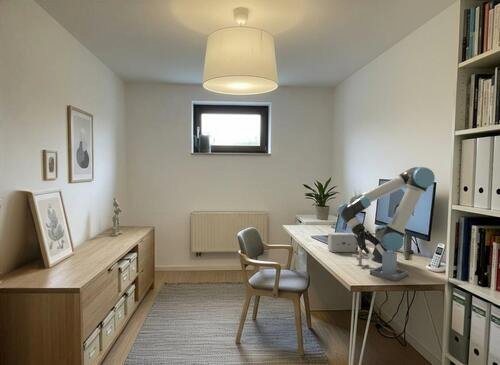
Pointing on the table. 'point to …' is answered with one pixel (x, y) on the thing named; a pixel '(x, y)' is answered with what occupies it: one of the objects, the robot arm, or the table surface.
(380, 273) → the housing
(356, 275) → the table surface
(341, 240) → the stereo radio cassette player
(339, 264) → the table surface
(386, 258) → the block
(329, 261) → the table surface
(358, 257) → the pipe connector
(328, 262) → the table surface
